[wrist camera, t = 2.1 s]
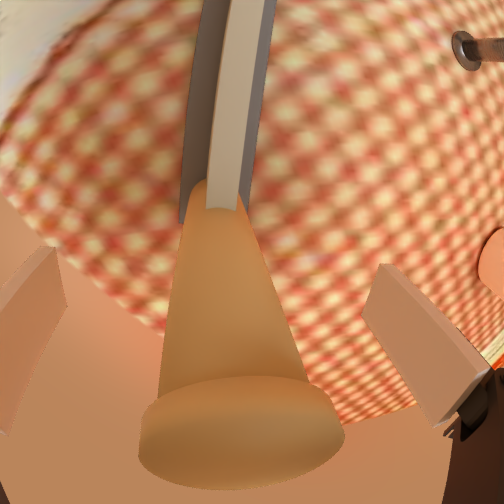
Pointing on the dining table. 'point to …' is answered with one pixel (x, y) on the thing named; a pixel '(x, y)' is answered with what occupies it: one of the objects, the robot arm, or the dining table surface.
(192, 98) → the strip
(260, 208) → the dining table surface
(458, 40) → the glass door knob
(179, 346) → the slotted fence panel
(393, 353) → the robot arm
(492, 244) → the potion bottle
